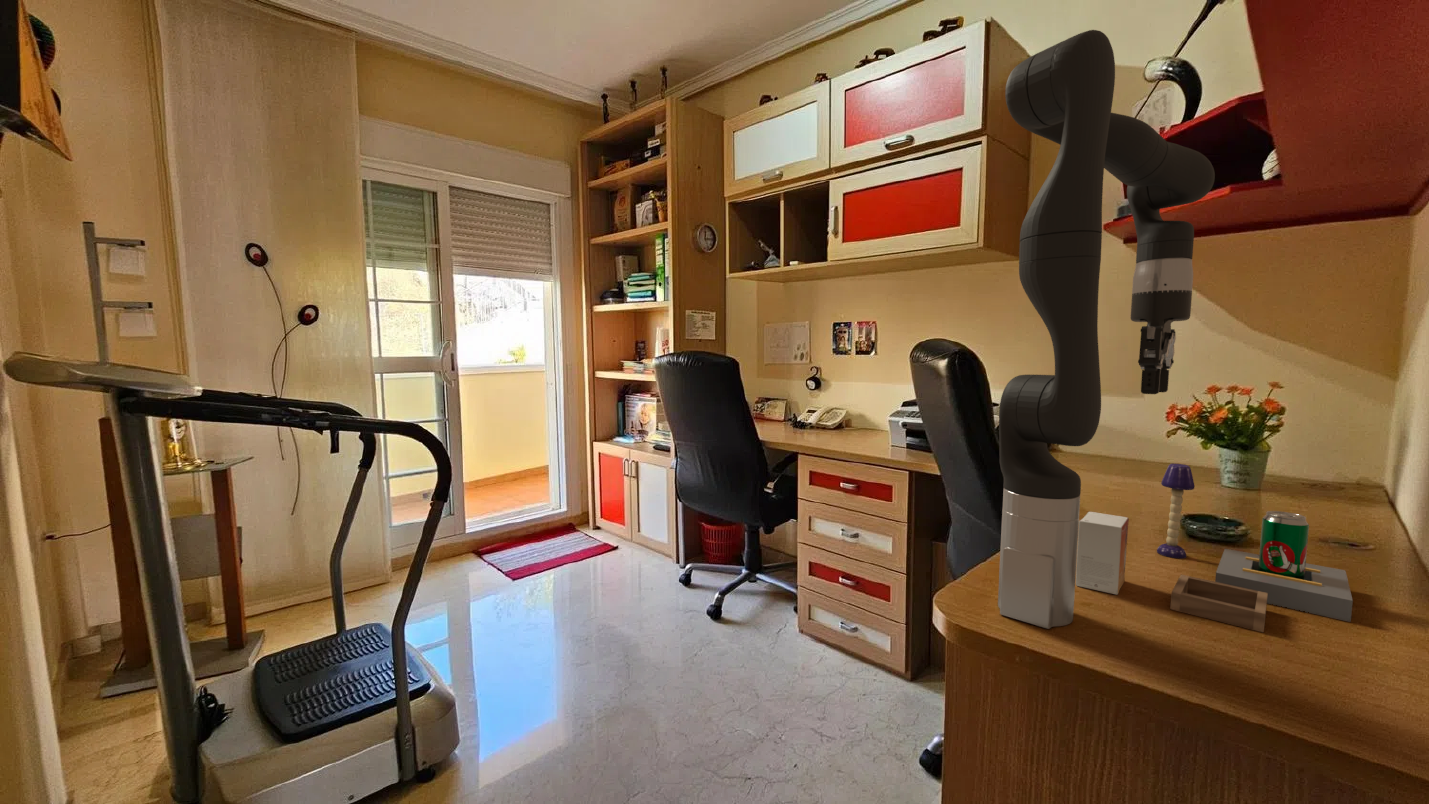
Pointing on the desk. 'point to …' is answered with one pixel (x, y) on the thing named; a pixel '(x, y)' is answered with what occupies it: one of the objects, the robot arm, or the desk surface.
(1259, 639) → the desk surface
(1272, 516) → the soda can
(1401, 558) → the desk surface
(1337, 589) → the socket
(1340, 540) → the desk surface
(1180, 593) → the wooden square frame
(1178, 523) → the toy lamp
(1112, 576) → the small box
